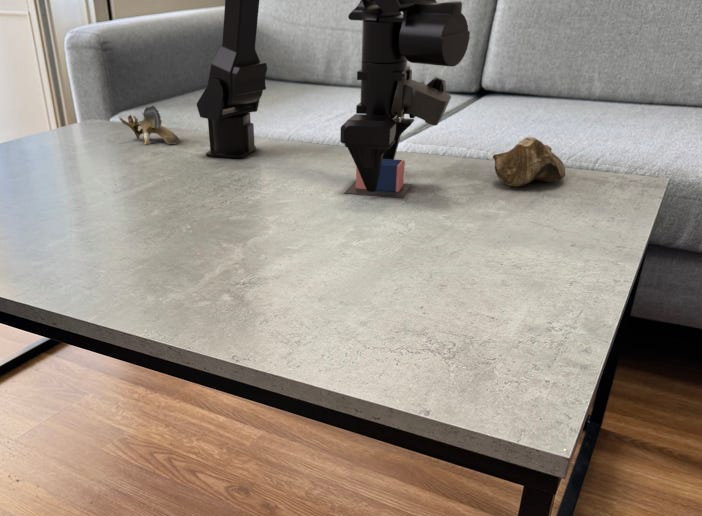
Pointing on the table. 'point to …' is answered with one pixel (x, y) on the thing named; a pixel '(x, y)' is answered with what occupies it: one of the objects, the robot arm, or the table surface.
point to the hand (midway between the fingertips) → (379, 182)
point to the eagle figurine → (150, 126)
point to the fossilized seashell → (528, 163)
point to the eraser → (386, 176)
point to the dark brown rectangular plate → (399, 194)
